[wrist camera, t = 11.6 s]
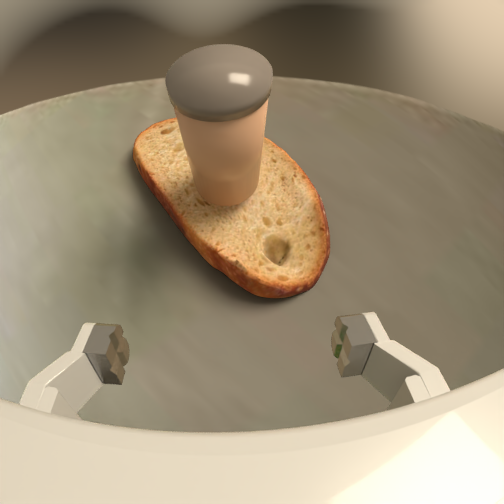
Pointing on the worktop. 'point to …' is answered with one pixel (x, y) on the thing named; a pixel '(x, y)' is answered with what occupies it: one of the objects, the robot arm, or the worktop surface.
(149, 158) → the slice of bread
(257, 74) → the grey-capped jar
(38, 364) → the worktop surface
